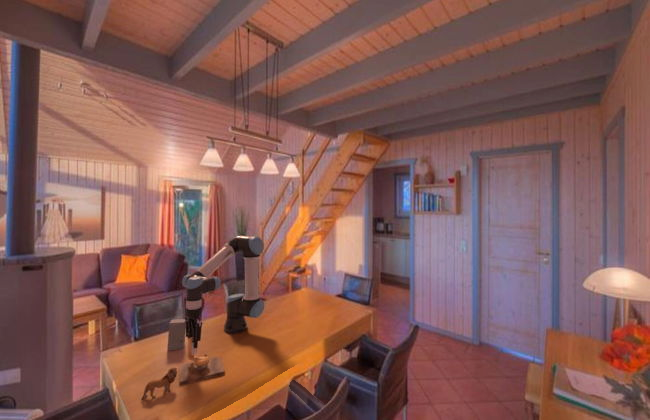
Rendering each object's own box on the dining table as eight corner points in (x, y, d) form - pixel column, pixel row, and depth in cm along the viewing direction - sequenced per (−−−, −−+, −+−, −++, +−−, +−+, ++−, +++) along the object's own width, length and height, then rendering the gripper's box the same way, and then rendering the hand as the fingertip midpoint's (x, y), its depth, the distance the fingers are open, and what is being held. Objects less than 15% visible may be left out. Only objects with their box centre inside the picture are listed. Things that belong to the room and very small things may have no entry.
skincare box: (167, 351, 163) (167, 323, 163) (170, 345, 170) (171, 319, 170) (183, 349, 165) (183, 322, 166) (185, 344, 172) (186, 317, 172)
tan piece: (212, 360, 145) (212, 340, 145) (200, 367, 139) (201, 345, 139) (194, 354, 151) (195, 334, 151) (183, 360, 145) (183, 340, 145)
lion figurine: (174, 383, 133) (174, 364, 133) (179, 388, 130) (179, 368, 130) (138, 399, 122) (139, 378, 122) (143, 404, 118) (143, 383, 118)
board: (220, 359, 155) (220, 348, 155) (224, 374, 141) (224, 362, 141) (179, 368, 146) (179, 356, 146) (179, 385, 132) (179, 372, 132)
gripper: (209, 309, 146) (207, 354, 146) (193, 302, 156) (191, 345, 156) (195, 312, 140) (193, 360, 140) (179, 305, 150) (177, 350, 150)
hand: (192, 352), depth 148 cm, fingers closed on tan piece, 3 cm apart
